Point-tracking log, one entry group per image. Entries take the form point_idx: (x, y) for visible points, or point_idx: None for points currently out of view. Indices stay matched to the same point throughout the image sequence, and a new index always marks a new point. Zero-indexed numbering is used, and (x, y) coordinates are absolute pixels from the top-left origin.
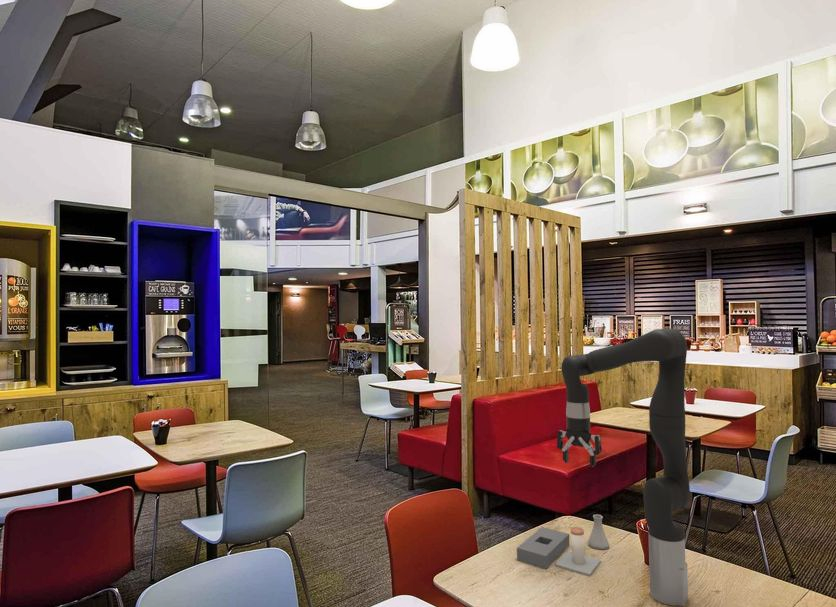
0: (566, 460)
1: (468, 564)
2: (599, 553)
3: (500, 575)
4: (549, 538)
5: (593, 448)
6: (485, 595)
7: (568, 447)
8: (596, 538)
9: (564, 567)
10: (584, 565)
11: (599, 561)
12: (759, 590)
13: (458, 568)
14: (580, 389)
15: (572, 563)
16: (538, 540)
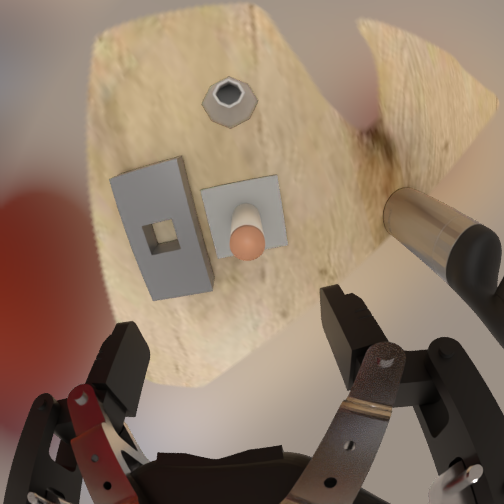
0: (147, 365)
1: None
2: (253, 138)
3: (181, 336)
4: (161, 219)
5: (394, 398)
6: (208, 375)
7: (103, 416)
8: (234, 117)
9: None
10: (263, 222)
11: (277, 183)
12: (474, 110)
13: None
14: None
15: None
16: (146, 233)
